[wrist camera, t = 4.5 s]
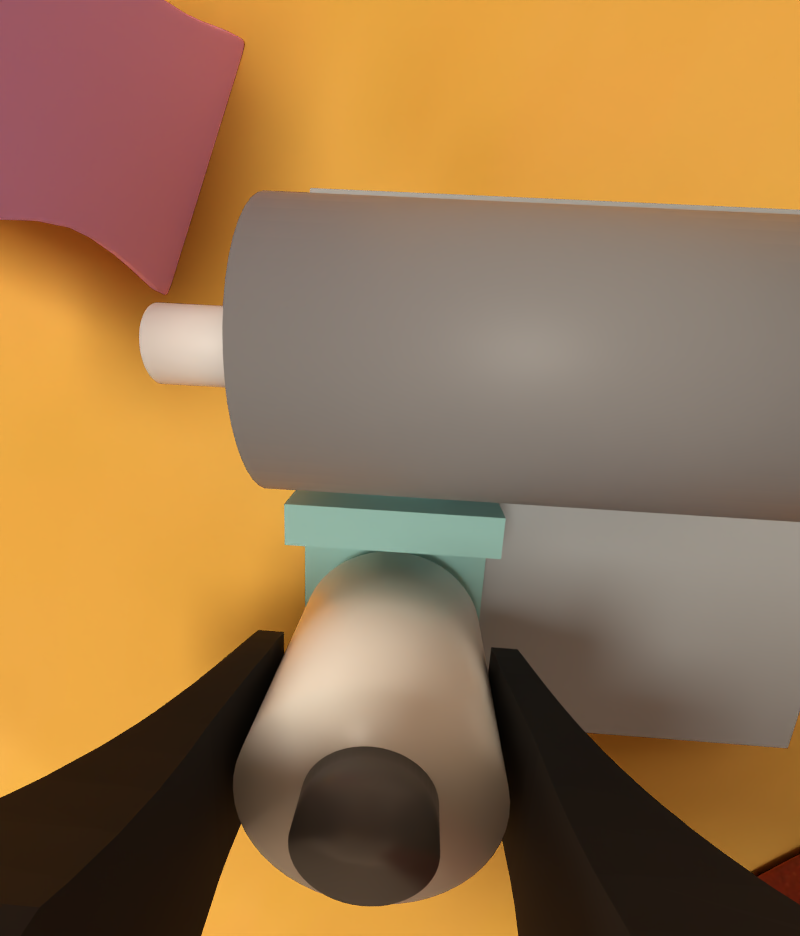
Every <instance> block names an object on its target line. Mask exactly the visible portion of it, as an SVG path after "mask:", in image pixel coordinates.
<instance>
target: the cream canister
mask: <svg viewBox="0 0 800 936" xmlns="http://www.w3.org/2000/svg"><path fill="white" fill-rule="evenodd" d="M233 794H234V802H235V807H236V810H237V813H238V817H239V819H240V822H241V824H242V826H243V828H244V830H245V832H246V834H247V835H248V837H249V838H250V840H251V841H252V843H253V844H254V846H255V847H256V848H257V849H258V850H259V852H260V853H261V854H262V855H263V856H264V857H265V858H266V859H267V860H268V861H269V862H270V863H271V864H272V865H273V866H274V867H276V868H277V869H278V870H280V871H281V872H282V873H284V874H285V875H286V876H288V877H290V878H291V879H293V880H295V881H296V882H298V883H300V884H301V885H304V886H306V887H308V888H310V889H312V890H314V891H317V892H319V893H322V894H324V895H326V896H328V897H330V898H332V899H335V900H338V901H341V902H344V903H348V904H352V905H359V906H384V905H390V904H400V903H407V902H414V901H418V900H422V899H426V898H430V897H433V896H436V895H438V894H441V893H444V892H446V891H448V890H450V889H452V888H454V887H456V886H458V885H460V884H461V883H463V882H464V881H466V880H467V879H469V878H470V877H472V876H473V875H474V874H475V873H477V872H478V871H479V870H480V869H481V868H482V867H483V866H484V865H485V864H486V863H487V862H488V860H489V859H490V858H491V857H492V856H493V854H494V853H495V851H496V849H497V848H498V846H499V845H500V843H501V841H502V838H503V836H504V833H505V831H506V828H507V823H508V819H509V811H510V796H509V787H508V781H507V776H506V770H505V765H504V759H503V754H502V748H501V743H500V737H499V732H498V726H497V720H496V715H495V709H494V704H493V698H492V693H491V687H490V682H489V676H488V670H487V665H486V659H485V654H484V648H483V643H482V637H481V632H480V626H479V620H478V616H477V613H476V609H475V606H474V604H473V602H472V600H471V598H470V596H469V594H468V593H467V591H466V590H465V588H464V587H463V586H462V585H461V583H460V582H459V581H458V580H457V579H456V578H455V577H454V576H453V575H452V574H451V573H449V572H448V571H446V570H445V569H444V568H442V567H441V566H439V565H437V564H436V563H434V562H432V561H430V560H427V559H425V558H422V557H420V556H416V555H412V554H409V553H400V552H385V551H383V552H373V553H368V554H364V555H360V556H357V557H354V558H352V559H349V560H347V561H345V562H344V563H342V564H340V565H338V566H337V567H335V568H334V569H333V570H331V571H330V572H329V573H328V574H327V575H326V576H325V577H324V578H323V579H322V580H321V581H320V582H319V584H318V585H317V586H316V588H315V589H314V591H313V593H312V595H311V596H310V599H309V601H308V603H307V605H306V607H305V610H304V612H303V614H302V616H301V618H300V621H299V623H298V625H297V627H296V629H295V632H294V634H293V636H292V638H291V640H290V643H289V645H288V647H287V649H286V651H285V654H284V656H283V658H282V660H281V662H280V665H279V667H278V669H277V671H276V673H275V676H274V678H273V680H272V682H271V685H270V687H269V689H268V691H267V693H266V696H265V698H264V700H263V702H262V704H261V707H260V709H259V711H258V713H257V715H256V718H255V720H254V722H253V724H252V726H251V729H250V731H249V733H248V735H247V737H246V740H245V742H244V744H243V746H242V748H241V751H240V754H239V756H238V759H237V761H236V766H235V771H234V776H233Z"/></svg>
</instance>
